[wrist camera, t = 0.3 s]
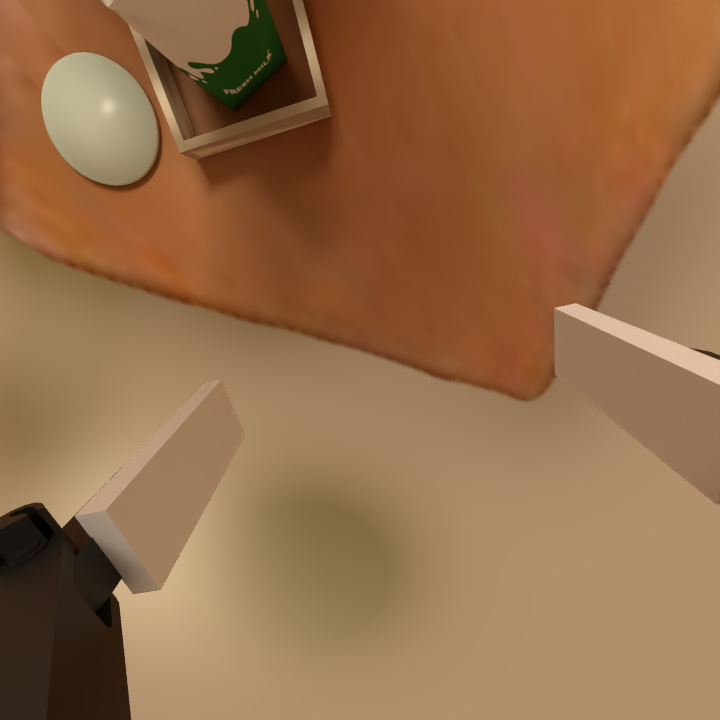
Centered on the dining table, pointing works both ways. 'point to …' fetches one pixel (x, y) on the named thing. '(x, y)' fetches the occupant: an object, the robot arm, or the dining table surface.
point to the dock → (241, 130)
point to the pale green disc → (100, 119)
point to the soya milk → (211, 41)
